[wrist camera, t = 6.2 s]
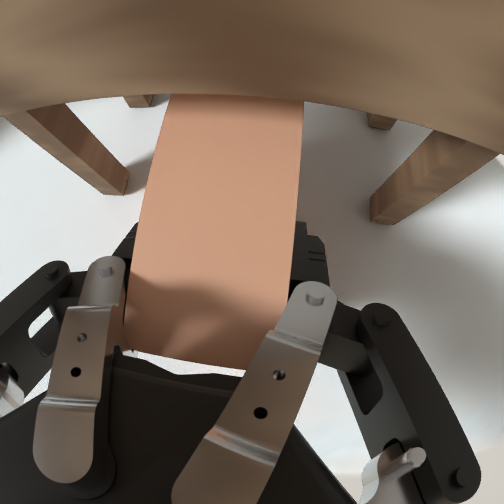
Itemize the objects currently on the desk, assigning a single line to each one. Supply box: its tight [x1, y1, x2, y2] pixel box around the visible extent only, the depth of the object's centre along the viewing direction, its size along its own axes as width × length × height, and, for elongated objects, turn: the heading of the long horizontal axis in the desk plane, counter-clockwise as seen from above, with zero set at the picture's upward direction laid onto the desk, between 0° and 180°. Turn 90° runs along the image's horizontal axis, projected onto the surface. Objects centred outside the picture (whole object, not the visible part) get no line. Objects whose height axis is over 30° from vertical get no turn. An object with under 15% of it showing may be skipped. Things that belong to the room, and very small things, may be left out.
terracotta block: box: [123, 93, 304, 370], centre depth 13 cm, size 4×9×8 cm, turn 173°
